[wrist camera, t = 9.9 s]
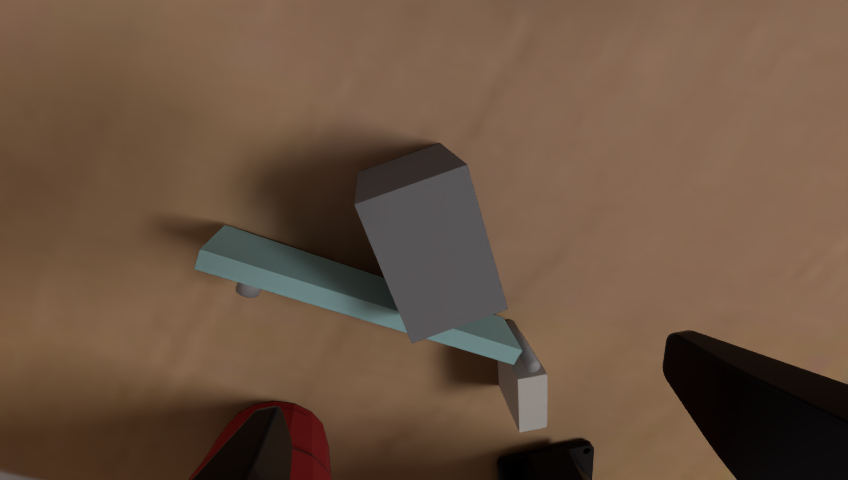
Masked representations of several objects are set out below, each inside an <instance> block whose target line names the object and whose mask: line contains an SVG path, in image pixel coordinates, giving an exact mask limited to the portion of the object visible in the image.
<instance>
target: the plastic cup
mask: <svg viewBox="0 0 848 480" xmlns="http://www.w3.org/2000/svg"><path fill="white" fill-rule="evenodd" d="M272 406H278V407H280V408H281V410H282V412H283V414H284V417H285V420H286V423H287V427H288V430H289V433H290V436H291V439H292V463H291V475H290V480H331V471H330V458H329V446H328V442H327V439H326V435H325V431H324V428H323V424H322V423H321V422H320V421H319V419H318V418H317V417H316V416H315V415H314V414H313V413H312V412H311V411H309V410H307V409H305V408H302V407H300V406H298V405H296V404H292V403H284V402H276V401H273V402H267V403H262V404H256V405H253V406H251V407H249V408H247V409H246V410H244V411H242V412H240V413H238V414H237V415H236V416H235V418H234V419H233V420H232V421H231V422H230V423H229V424H228V425H227V427H226V428H225V429H224V430H223V432H222V433H221V434H220V435H219V437H218V438H217V440H216V442H215V443H214V445H213V446H212V448H211V449H210V451H209V452H208V454H207V456H206V457H205V459H204V460H203V462H202V463H201V464H200V465H199V467H198V468H197V469H196V471H195V472H194V473H193V474H192V476H191V477H190V478H189V480H192V479H193V478H194V476H195V475H196V474H197V473H198V472H199V471H200V470H201V469H202V468H203V467H204V466H205V464H206V463H207V462H208V461H209V460H210V459H211V458H212V457H213V456H214V455H215V454H216V452H217V451H218V450H219V449H220V448H221V447H222V446H223V445H224V444H225V443H226V442H227V440H228V439H229V438H230V437H231V436H232V435H233V434H234V433H235V432H236V431H237V430H238V428H239V427H240V426H241V425H242V424H243V423H244V422H245V421H246V420H247V419H248V418H249V416H250V415H251V414H252V413H253V412H254V411H256V410H258V409H261V408H267V407H272Z"/></svg>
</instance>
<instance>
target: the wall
mask: <svg viewBox="0 0 848 480" xmlns="http://www.w3.org/2000/svg"><path fill="white" fill-rule="evenodd" d="M506 323H507V325H508V326H509V328H510V330H511V332H512V333H513V335H514V337H515V338H516V340H517V342H518V344H519V345H520V347H521V349H522V352H521V354H520V355H519V357H518V359H517V360H516V362H515V364H514V365H512V364H509V363H506V362H502V361H499V360H498V376H499V387H500V389H501V391H502V394H503V396H504V398H505V401H506V403H507V405H508V407H509V410H510V412H511V414H512V417H513V419H514V421H515V423H516V426H517V428H518V430H519V433H520V432H525V431H530V430H535V429H540V428H545V427H547V373H546V371H545V370H544V368H543V366H542V365H541V363H540V361H539V360H538V358H537V357H536V355H535V353H534V352H533V350H532V349H531V347H530V345H529V344H528V342H527V341H526V339H525V337H524V336H523V334H522V333H521V332H520V331H519V329H518V327H517V326H516V324H515V322H514V321H513V320H506Z"/></svg>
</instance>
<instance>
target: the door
mask: <svg viewBox="0 0 848 480" xmlns="http://www.w3.org/2000/svg"><path fill="white" fill-rule="evenodd" d="M194 269H196V270H199V271H202V272H206V273H209V274H212V275H216V276H219V277H222V278H226V279H229V280H232V281H236V282H238V283H237V286H236V292H237V293H238V294H240V295H241V296H244V297H249V298H253V297H257V296H258V295H259V294H260V291H261V289H262V290H266V291H269V292H272V293H276V294H279V295H282V296H286V297H289V298H292V299H296V300H299V301H302V302H306V303H309V304H312V305H316V306H319V307H322V308H326V309H329V310H332V311H336V312H339V313H342V314H346V315H349V316H352V317H356V318H359V319H362V320H366V321H369V322H372V323H376V324H379V325H382V326H386V327H389V328H392V329H396V330H399V331H402V332H406V333H407V331H406V328H405V326H404V324H403V321H402V319H401V316H400V314H399V311H398V309H397V307H396V304H395V302H394V299H393V297H392V295H391V292H390V290H389V287H388V285H387V282H386V280H385V278H383V277H380V276H377V275H374V274H371V273H368V272H365V271H362V270H359V269H356V268H353V267H350V266H347V265H344V264H341V263H338V262H335V261H332V260H329V259H326V258H323V257H320V256H317V255H314V254H311V253H308V252H305V251H302V250H299V249H296V248H293V247H290V246H287V245H284V244H281V243H278V242H275V241H272V240H269V239H266V238H263V237H260V236H257V235H254V234H251V233H248V232H245V231H242V230H239V229H236V228H233V227H230V226H227V225H224V226H223V227H222V228H221V229H220V230H219V231H218V232H217V233H216V234H215V235H214V236H213V237H212V238H211V239H210V240H209V241H208V242H207V243H206V244H205V245H204V246H203V247H202V248H201V249H200V250H199V254H198V258H197V261H196V265H195V268H194ZM426 339H429V340H432V341H436V342H439V343H442V344H446V345H449V346H452V347H456V348H459V349H462V350H466V351H469V352H472V353H476V354H479V355H482V356H486V357H489V358H492V359H496V360H499V361H502V362H506V363H509V364H512V365H514V364H515V362H516V360H517V359H518V357H519V355H520V354H521V352H522V349H521V347H520V345H519V344H518V342H517V340H516V338H515V337H514V335H513V333H512V332H511V330H510V328H509V326H508V325H507V323H506V321H505V320H504V318H502V317H499V316H496V315H490V316H487V317H484V318H482V319H479V320H476V321H473V322H470V323H468V324H465V325H462V326H459V327H456V328H453V329H451V330H448V331H445V332H442V333H439V334H437V335H434V336H431V337H428V338H426Z"/></svg>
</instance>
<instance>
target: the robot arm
mask: <svg viewBox="0 0 848 480" xmlns="http://www.w3.org/2000/svg"><path fill="white" fill-rule="evenodd" d="M663 373H664V376H665V378H666V380H667V381H668V383H669V384H670V386H671V387H672V389H673V390H674V392H675V393H676V395H677V396H678V398H679V399H680V401H681V402H682V404H683V405H684V407H685V408H686V410H687V411H688V413H689V414H690V416H691V417H692V419H693V420H694V422H695V423H696V425H697V426H698V428H699V429H700V431H701V432H702V434H703V435H704V437H705V438H706V440H707V441H708V442H709V444H710V445H711V447H712V448H713V450H714V451H715V452H716V454H717V455H718V456H719V458H720V459H721V460H722V461H723V463H724V464H725V465H726V467H727V468H728V469H729V470H730V472H731V473H732V474H733V475H734V477H735V478H736V479H737V480H848V384H845V383H842V382H839V381H836V380H833V379H831V378H828V377H825V376H822V375H819V374H816V373H813V372H810V371H807V370H805V369H802V368H799V367H796V366H793V365H790V364H787V363H784V362H782V361H779V360H776V359H773V358H770V357H767V356H764V355H761V354H758V353H756V352H753V351H750V350H747V349H744V348H741V347H738V346H735V345H733V344H730V343H727V342H724V341H721V340H718V339H715V338H712V337H709V336H707V335H704V334H701V333H698V332H695V331H691V330H687V331H681V332H676V333H672V334H670V335H669V336H668V337H667V339H666V345H665V353H664V360H663ZM593 456H594V448H593V446H592V444H591V443H590V442H589V441H587V440H584V441H579V442H574V443H569V444H564V445H559V446H554V447H549V448H544V449H539V450H534V451H530V452H525V453H520V454H515V455H510V456H505V457H501V458H500V459H498V461H497V479H498V480H592V471H593ZM291 463H292V439H291V436H290V433H289V430H288V427H287V423H286V420H285V417H284V414H283V412H282V410H281V408H280V407H278V406H272V407H267V408H261V409H258V410H256V411H254V412H253V413H252V414H251V415H250V416H249V418H248V419H247V420H246V421H245V422H244V423H243V424H242V425H241V426H240V427H239V428H238V430H237V431H236V432H235V433H234V434H233V435H232V436H231V437H230V438H229V439H228V440H227V442H226V443H225V444H224V445H223V446H222V447H221V448H220V449H219V450H218V451H217V452H216V454H215V455H214V456H213V457H212V458H211V459H210V460H209V461H208V462H207V463H206V464H205V466H204V467H203V468H202V469H201V470H200V471H199V472H198V473H197V474H196V475H195V476H194V478H193V479H192V480H290V475H291Z"/></svg>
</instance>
